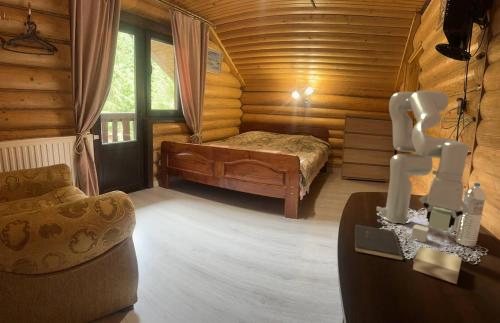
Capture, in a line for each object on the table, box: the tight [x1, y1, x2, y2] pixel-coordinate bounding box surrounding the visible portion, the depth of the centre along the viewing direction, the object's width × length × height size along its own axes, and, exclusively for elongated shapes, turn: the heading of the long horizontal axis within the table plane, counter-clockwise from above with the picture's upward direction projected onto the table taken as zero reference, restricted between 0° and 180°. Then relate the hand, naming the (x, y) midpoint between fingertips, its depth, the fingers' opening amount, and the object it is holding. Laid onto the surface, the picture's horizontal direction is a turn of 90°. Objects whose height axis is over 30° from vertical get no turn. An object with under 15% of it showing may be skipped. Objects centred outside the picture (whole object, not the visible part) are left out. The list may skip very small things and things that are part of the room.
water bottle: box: [455, 182, 487, 248], centre depth 120 cm, size 7×7×25 cm
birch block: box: [412, 245, 463, 285], centre depth 100 cm, size 12×12×4 cm
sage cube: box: [427, 206, 452, 232], centre depth 111 cm, size 6×6×6 cm
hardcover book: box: [354, 224, 404, 261], centre depth 118 cm, size 16×23×2 cm
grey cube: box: [410, 224, 430, 243], centre depth 124 cm, size 5×5×5 cm
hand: (439, 223), depth 112 cm, fingers closed on sage cube, 6 cm apart
